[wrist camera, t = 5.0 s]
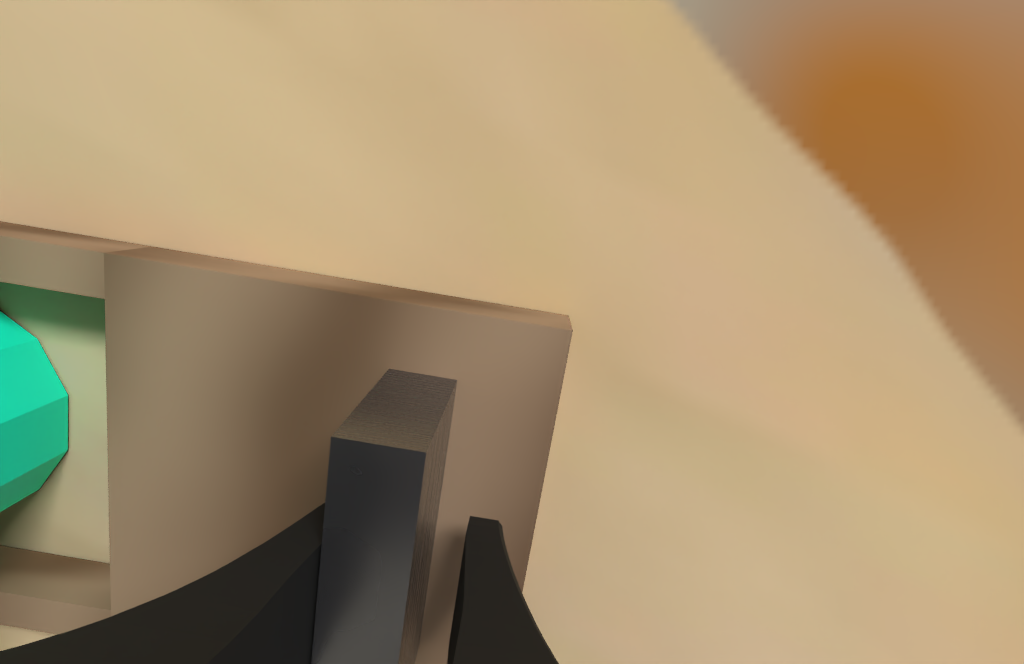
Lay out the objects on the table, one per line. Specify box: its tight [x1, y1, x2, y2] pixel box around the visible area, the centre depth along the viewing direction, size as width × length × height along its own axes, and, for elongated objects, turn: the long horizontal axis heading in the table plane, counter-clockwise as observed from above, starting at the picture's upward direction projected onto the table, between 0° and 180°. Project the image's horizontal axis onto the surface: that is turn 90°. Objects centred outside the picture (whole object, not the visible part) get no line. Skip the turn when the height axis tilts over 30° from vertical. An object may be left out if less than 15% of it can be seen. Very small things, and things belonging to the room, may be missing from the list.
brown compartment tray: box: [0, 221, 573, 664], centre depth 12 cm, size 20×10×5 cm, turn 81°
